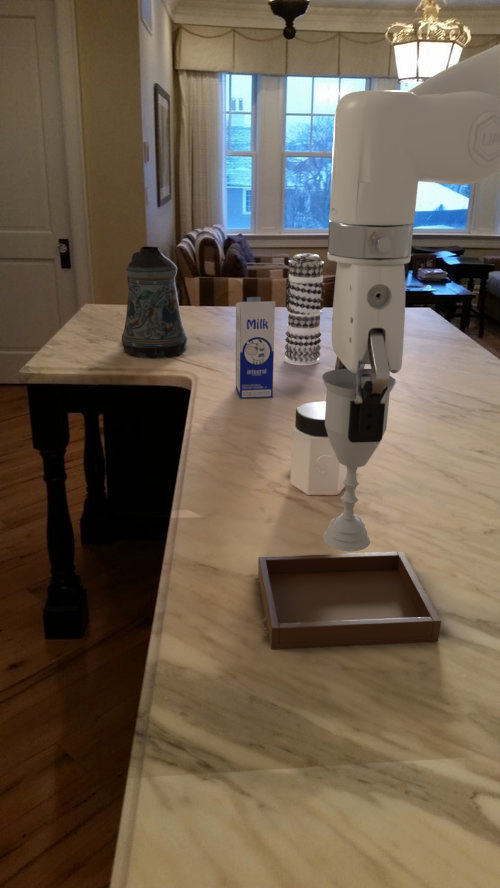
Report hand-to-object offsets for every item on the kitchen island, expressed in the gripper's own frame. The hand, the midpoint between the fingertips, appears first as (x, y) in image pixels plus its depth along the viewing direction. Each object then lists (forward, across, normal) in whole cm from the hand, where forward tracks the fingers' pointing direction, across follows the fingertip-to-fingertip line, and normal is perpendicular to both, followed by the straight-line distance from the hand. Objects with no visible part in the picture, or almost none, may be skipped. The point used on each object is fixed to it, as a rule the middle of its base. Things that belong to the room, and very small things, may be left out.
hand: (355, 425), depth 71 cm
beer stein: (+22, +111, +26) cm, 116 cm away
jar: (+22, +31, -3) cm, 38 cm away
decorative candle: (+22, +99, -11) cm, 102 cm away
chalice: (+13, 0, 0) cm, 13 cm away
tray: (+22, 0, 0) cm, 22 cm away
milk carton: (+22, +75, +3) cm, 78 cm away
